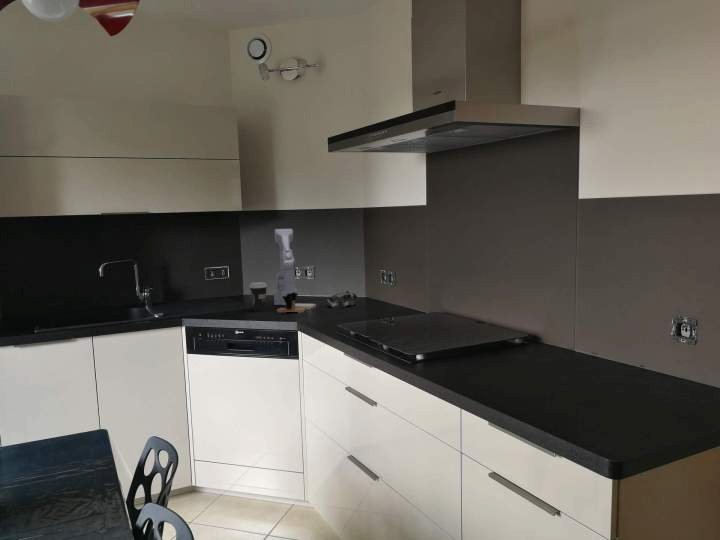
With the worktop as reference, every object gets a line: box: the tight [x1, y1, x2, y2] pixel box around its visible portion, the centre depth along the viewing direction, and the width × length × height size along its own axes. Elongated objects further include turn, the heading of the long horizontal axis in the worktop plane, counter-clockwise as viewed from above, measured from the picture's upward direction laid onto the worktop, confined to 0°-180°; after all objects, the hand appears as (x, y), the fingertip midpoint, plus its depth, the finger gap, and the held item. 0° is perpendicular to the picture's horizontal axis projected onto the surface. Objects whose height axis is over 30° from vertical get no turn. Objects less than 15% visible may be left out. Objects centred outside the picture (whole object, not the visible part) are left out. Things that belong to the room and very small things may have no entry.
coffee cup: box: [248, 281, 268, 313], centre depth 307 cm, size 10×10×15 cm
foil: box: [326, 290, 358, 309], centre depth 314 cm, size 12×11×15 cm
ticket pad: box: [295, 302, 317, 310], centre depth 314 cm, size 14×9×2 cm, turn 72°
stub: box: [276, 300, 306, 314], centre depth 301 cm, size 14×5×6 cm, turn 72°
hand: (290, 307), depth 301 cm, fingers closed on stub, 3 cm apart
